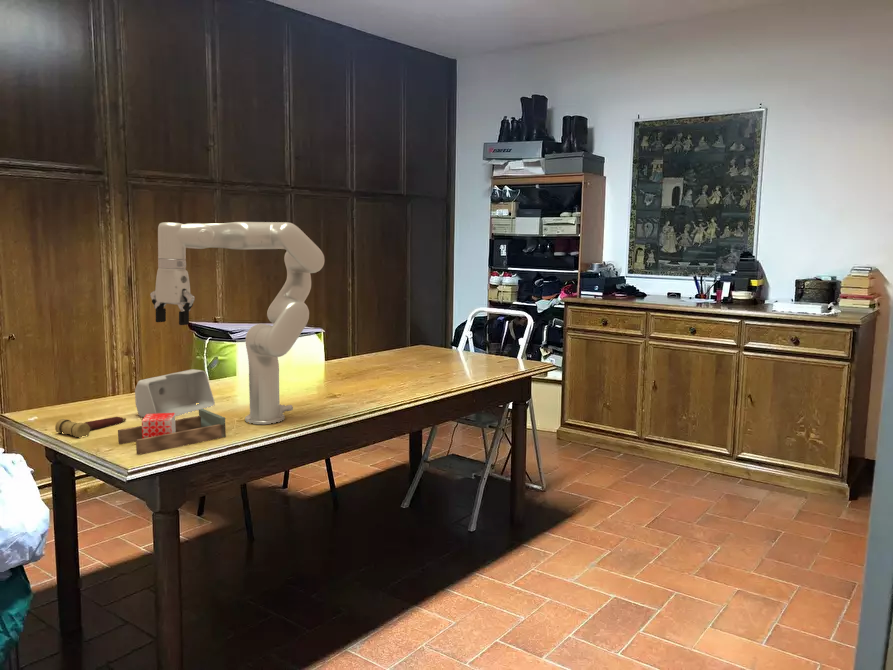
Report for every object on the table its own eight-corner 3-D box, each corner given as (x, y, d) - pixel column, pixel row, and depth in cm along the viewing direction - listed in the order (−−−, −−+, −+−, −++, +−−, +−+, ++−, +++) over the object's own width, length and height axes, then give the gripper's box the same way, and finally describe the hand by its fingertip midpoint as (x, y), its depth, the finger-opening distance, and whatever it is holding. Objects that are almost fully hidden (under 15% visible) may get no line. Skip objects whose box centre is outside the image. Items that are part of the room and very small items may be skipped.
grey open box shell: (183, 400, 262) (181, 366, 261) (215, 405, 255) (214, 371, 253) (124, 415, 240) (122, 378, 239) (158, 421, 233) (156, 383, 231)
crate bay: (203, 427, 226) (202, 408, 226) (225, 437, 216) (225, 417, 215) (118, 443, 208) (117, 423, 208) (138, 454, 198) (137, 433, 197)
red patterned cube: (147, 439, 213) (146, 413, 211) (175, 438, 214) (174, 412, 213) (142, 447, 205) (141, 420, 204) (172, 446, 207) (171, 419, 205)
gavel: (115, 410, 235) (136, 414, 230) (115, 423, 235) (136, 428, 230) (54, 420, 216) (76, 424, 212) (54, 435, 216) (76, 440, 212)
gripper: (203, 266, 210) (203, 324, 212) (161, 263, 218) (162, 320, 220) (182, 266, 203) (182, 326, 205) (141, 263, 211) (141, 321, 213)
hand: (172, 323), depth 212 cm, fingers open, 9 cm apart
